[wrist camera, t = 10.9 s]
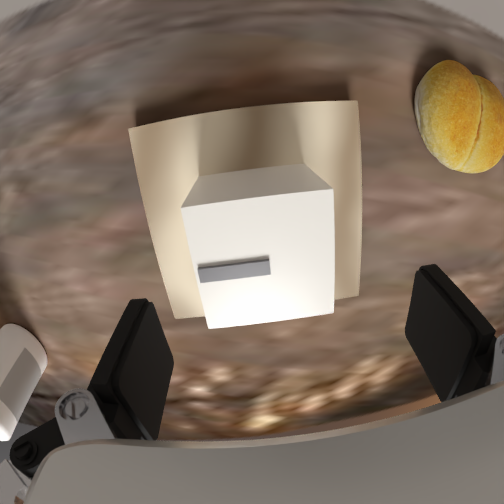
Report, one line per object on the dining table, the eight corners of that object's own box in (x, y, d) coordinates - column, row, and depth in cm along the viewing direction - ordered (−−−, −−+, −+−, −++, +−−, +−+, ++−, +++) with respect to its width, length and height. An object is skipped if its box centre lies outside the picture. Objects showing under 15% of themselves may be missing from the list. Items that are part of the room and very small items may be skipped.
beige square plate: (349, 101, 18) (390, 100, 12) (352, 285, 24) (379, 333, 19) (135, 127, 18) (98, 135, 13) (178, 307, 24) (164, 360, 19)
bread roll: (416, 47, 16) (447, 40, 13) (495, 92, 17) (527, 96, 13) (398, 150, 20) (427, 160, 16) (479, 180, 21) (509, 194, 17)
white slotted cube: (303, 163, 18) (334, 190, 12) (309, 257, 21) (334, 315, 15) (198, 176, 18) (179, 209, 12) (215, 269, 21) (208, 331, 15)
